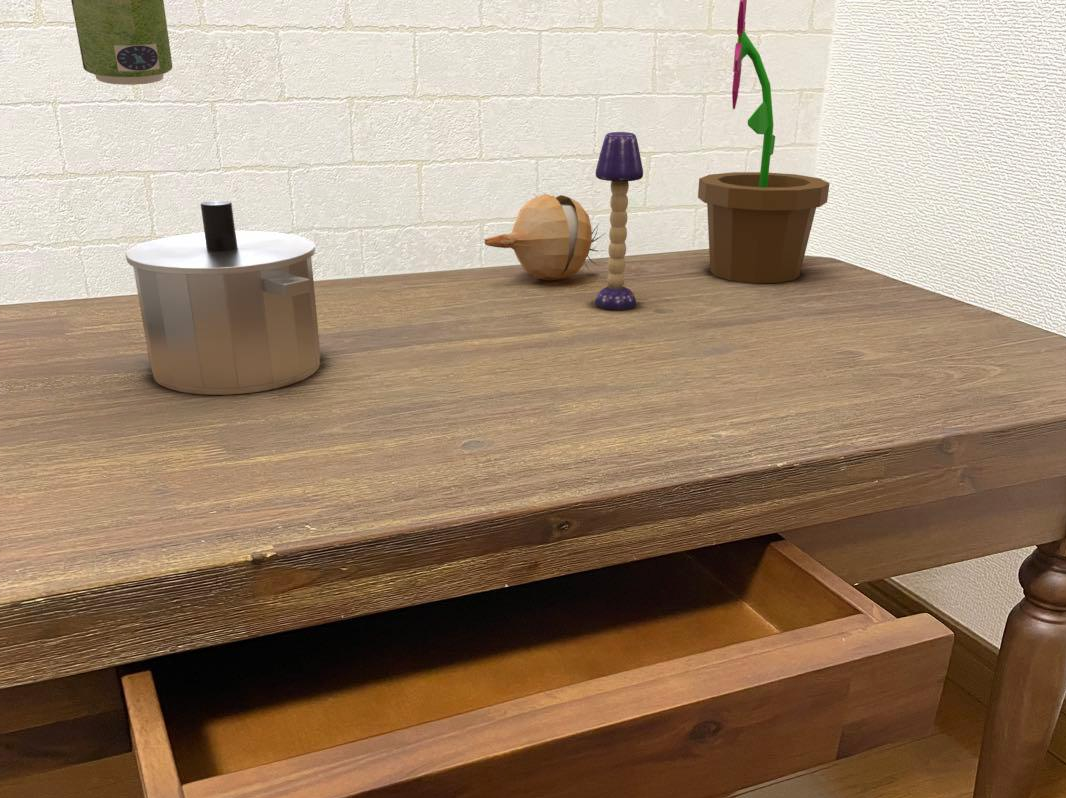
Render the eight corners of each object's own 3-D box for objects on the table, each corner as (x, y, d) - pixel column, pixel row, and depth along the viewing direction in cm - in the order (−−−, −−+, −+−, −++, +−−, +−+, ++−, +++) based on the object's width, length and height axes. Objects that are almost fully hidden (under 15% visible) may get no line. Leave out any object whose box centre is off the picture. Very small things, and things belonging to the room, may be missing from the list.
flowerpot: (696, 257, 128) (716, -19, 115) (815, 263, 126) (850, -18, 112) (688, 283, 116) (709, -22, 102) (820, 290, 113) (860, -22, 100)
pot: (235, 415, 78) (218, 288, 73) (105, 364, 89) (83, 250, 84) (373, 373, 87) (365, 257, 83) (240, 331, 98) (227, 227, 94)
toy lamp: (642, 310, 105) (651, 135, 98) (598, 313, 105) (603, 136, 97) (629, 299, 110) (636, 130, 102) (586, 301, 109) (590, 130, 101)
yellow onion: (631, 204, 114) (512, 177, 107) (617, 290, 116) (499, 270, 108) (586, 206, 122) (472, 181, 114) (574, 286, 124) (461, 267, 116)
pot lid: (195, 292, 75) (186, 227, 73) (92, 263, 83) (81, 203, 81) (353, 260, 84) (348, 201, 82) (246, 237, 93) (240, 183, 91)
